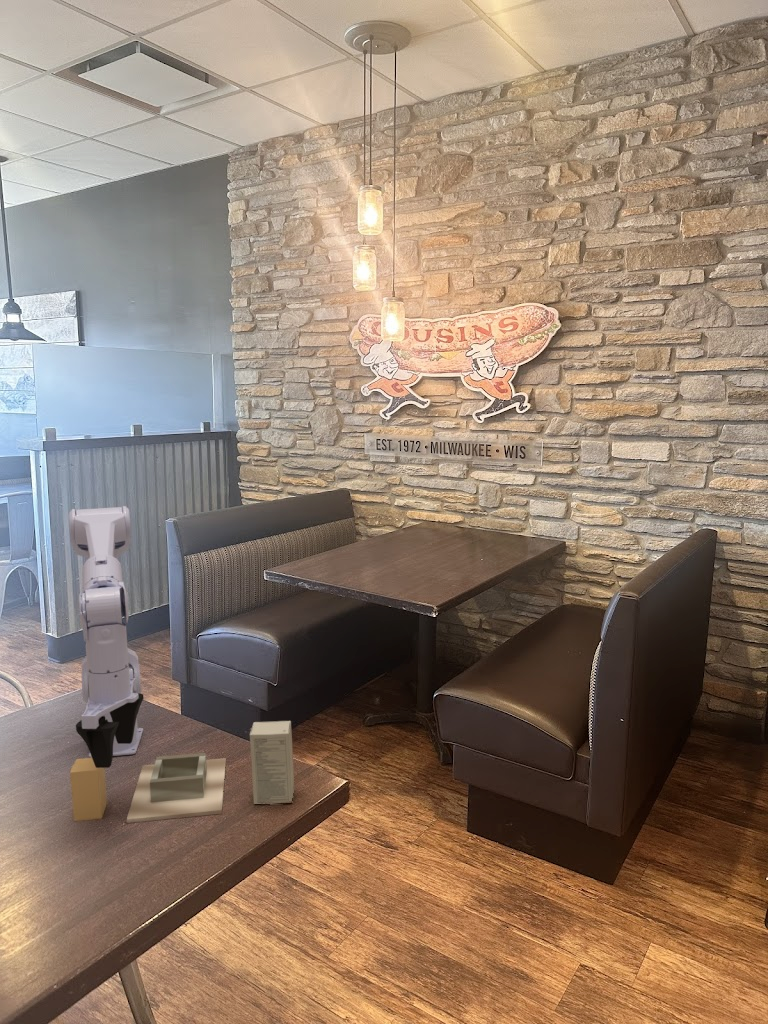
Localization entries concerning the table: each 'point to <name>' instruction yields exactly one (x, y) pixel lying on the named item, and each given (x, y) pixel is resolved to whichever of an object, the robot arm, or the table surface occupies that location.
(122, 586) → the robot arm
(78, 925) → the table surface
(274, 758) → the skincare box
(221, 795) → the socket stand
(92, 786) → the peg
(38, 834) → the table surface
